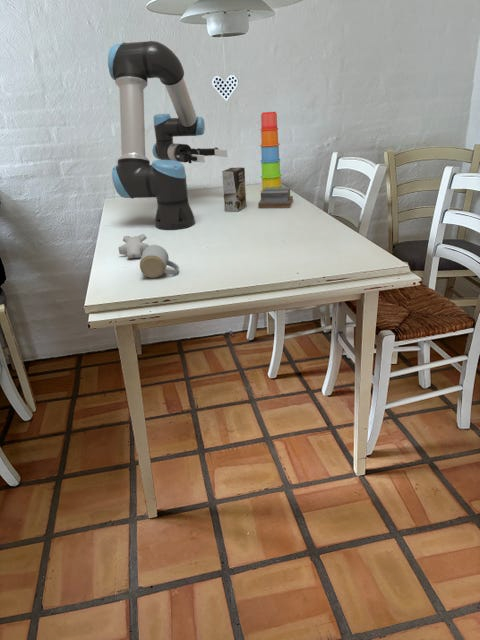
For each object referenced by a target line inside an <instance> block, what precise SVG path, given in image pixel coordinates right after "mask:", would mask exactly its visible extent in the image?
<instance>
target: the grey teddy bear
mask: <svg viewBox="0 0 480 640" xmlns="http://www.w3.org/2000/svg"><path fill="white" fill-rule="evenodd" d="M146 239H147V237H146V234H140V235H137V236H136V235H135V236H130V235H124V236H123V238H122V241H123V242H125V244H122V245H121V246H118V247H117V249H118V253H119V255H124V256H127V257H126V258H127V259H128V260H131V259H141V257H142V253H143V251H144V249H145V248H146V247H148V246H150V245H149V244H148V243H144V242H143V241H145V240H146Z"/></svg>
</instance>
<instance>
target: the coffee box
mask: <svg viewBox="0 0 480 640" xmlns="http://www.w3.org/2000/svg"><path fill="white" fill-rule="evenodd" d="M245 173H246V170H245V167H229V168H228V169H227V168H226V169H225V170H222V188H223V189H222V190H223V205H224V206H223V207H224V212H240V211H241V210H243V209H244V208H246V207H247V194H246V193H247V192H246V191H247V190H246V174H245Z"/></svg>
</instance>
